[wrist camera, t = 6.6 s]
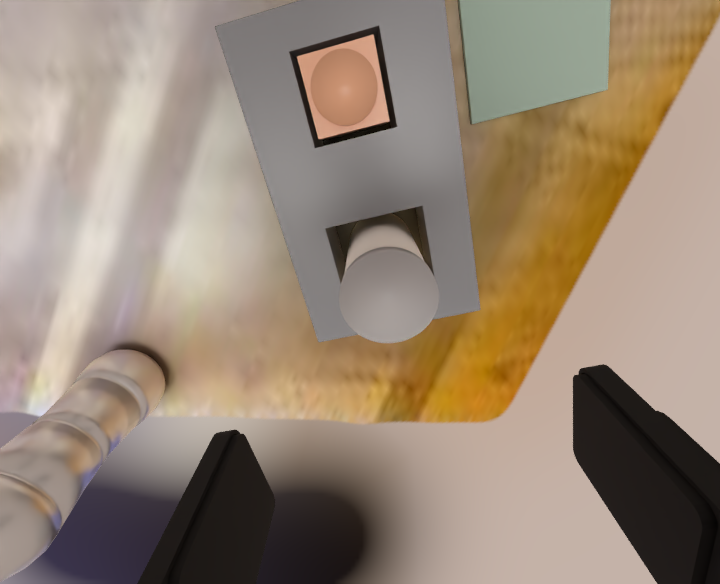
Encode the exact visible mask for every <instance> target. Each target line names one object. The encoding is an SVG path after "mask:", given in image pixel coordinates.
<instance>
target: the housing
mask: <svg viewBox="0 0 720 584" xmlns="http://www.w3.org/2000/svg"><path fill="white" fill-rule="evenodd" d="M215 29H216V32H217V35H218V38H219V41H220V44H221V47H222V50H223V53H224V56H225V59H226V62H227V65H228V68H229V71H230V74H231V77H232V80H233V83H234V87H235V90H236V93H237V96H238V99H239V102H240V105H241V108H242V111H243V114H244V117H245V120H246V123H247V126H248V129H249V132H250V135H251V138H252V141H253V144H254V147H255V150H256V153H257V156H258V159H259V163H260V166H261V169H262V172H263V175H264V178H265V181H266V184H267V187H268V190H269V193H270V196H271V199H272V202H273V205H274V208H275V211H276V214H277V217H278V220H279V223H280V226H281V229H282V232H283V236H284V239H285V242H286V245H287V248H288V251H289V254H290V257H291V260H292V263H293V266H294V269H295V272H296V275H297V278H298V281H299V284H300V287H301V290H302V293H303V296H304V299H305V302H306V305H307V308H308V312H309V315H310V318H311V321H312V324H313V327H314V330H315V333H316V336H317V339H318V342H323V341H328V340H333V339H338V338H343V337H348V336H353V335H358V334H357V333H356V332H355V331H354V330H352V328H351V327H350V326H349V325H348V324H347V322H346V321H345V319H344V317H343V315H342V313H341V309H340V305H339V293H340V287H341V282H342V279H343V276H344V273H345V267H346V264H345V261H344V257H343V253H342V249H341V246H340V242H339V238H338V234H337V231H336V227H335V226H338V225H342V224H346V223H350V222H355V221H359V220H363V219H367V218H372V217H376V216H380V215H385V214H389V213H393V212H397V211H402V210H406V209H410V208H414V207H415V209H416V215H417V220H418V226H419V232H420V238H421V243H422V249H423V255H424V261H425V263H426V264H427V265H428V266H429V268H430V270H431V272H432V274H433V276H434V278H435V280H436V282H437V286H438V290H439V303H438V308H437V311H436V314H435V315H434V317H433V319H438V318H443V317H448V316H453V315H458V314H463V313H468V312H473V311H478V310H480V302H479V294H478V285H477V276H476V268H475V259H474V250H473V242H472V233H471V225H470V216H469V207H468V199H467V190H466V181H465V173H464V164H463V155H462V147H461V138H460V129H459V121H458V112H457V103H456V95H455V86H454V77H453V69H452V60H451V51H450V43H449V34H448V25H447V17H446V8H445V0H300V1H297V2H293V3H290V4H287V5H283V6H280V7H277V8H274V9H270V10H267V11H264V12H261V13H257V14H254V15H251V16H248V17H244V18H241V19H238V20H235V21H231V22H228V23H225V24H222V25H218V26H215ZM373 34H374V40H375V45H376V48H377V53H378V59H379V64H380V70H381V75H382V80H383V86H384V91H385V97H386V102H387V107H388V113H389V118H390V124H391V129H387V130H384V131H380V132H376V133H372V134H368V135H364V136H360V137H357V138H353V139H349V140H345V141H341V142H337V143H334V144H330V145H326V146H324V145H323V141H322V140H319V139H318V135H317V132H316V128H315V124H314V120H313V116H312V112H311V109H310V105H309V101H308V97H307V93H306V89H305V86H304V82H303V78H302V74H301V70H300V66H299V63H298V59H297V56H301V55H304V54H307V53H311V52H314V51H318V50H321V49H325V48H328V47H332V46H335V45H339V44H342V43H345V42H349V41H352V40H356V39H359V38H363V37H366V36H370V35H373ZM433 319H432V320H433Z"/></svg>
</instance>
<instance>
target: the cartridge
mask: <svg viewBox="0 0 720 584" xmlns="http://www.w3.org/2000/svg"><path fill="white" fill-rule="evenodd" d="M438 303H439V290H438V286H437V282H436V280H435V278H434V276H433V274H432V272H431V270H430V268H429V266H428V265H427V264H426V263H425V262H424V259H423V257H422V255H421V253H420V251H419V249H418V247H417V245H416V243H415V241H414V239H413V237H412V234H411V232H410V230H409V228H408V227H407V225H406V224H405V222H404V221H403V220H402V219H400V218H399V217H397V216H396V215H394V214H391V213H389V214H385V215H380V216H376V217H372V218H367V219H363V220H359V221H358V223H357V224H356V225H355V226H354V228H353V230H352V232H351V236H350V241H349V248H348V254H347V260H346V267H345V273H344V276H343V279H342V282H341V287H340V293H339V305H340V309H341V313H342V315H343V317H344V319H345V321H346V322H347V324H348V325H349V326H350V327H351V328H352V330H354V331H355V332H356V333H357V334H359V335H360V336H362V337H364V338H366V339H368V340H371V341H374V342H379V343H396V342H401V341H405V340H407V339H410V338H412V337H414V336H416V335H417V334H419V333H420V332H422V331H423V330H424V329H425V328H426V327H427V326H428V325H429V324H430V322H431V321H432V319H433V317H434V315H435V314H436V311H437V308H438Z"/></svg>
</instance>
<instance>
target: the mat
mask: <svg viewBox="0 0 720 584" xmlns="http://www.w3.org/2000/svg"><path fill="white" fill-rule="evenodd" d="M610 2H611V0H458V6H459V16H460V25H461V35H462V45H463V54H464V64H465V74H466V83H467V93H468V103H469V112H470V122H471V124H475V123H479V122H483V121H487V120H491V119H495V118H498V117H502V116H506V115H510V114H514V113H518V112H522V111H526V110H530V109H534V108H538V107H542V106H546V105H549V104H553V103H557V102H561V101H565V100H569V99H573V98H577V97H581V96H585V95H589V94H593V93H597V92H600V91H604V90H608V63H609V32H610Z"/></svg>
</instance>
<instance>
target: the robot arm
mask: <svg viewBox="0 0 720 584" xmlns="http://www.w3.org/2000/svg"><path fill="white" fill-rule="evenodd" d="M573 450H574V454H575V457H576V459H577V461H578V463H579V465H580V466H581V468H582V469H583V471H584V472H585V474H586V475H587V477H588V479H589V480H590V482H591V483H592V484H593V486H594V488H595V489H596V491H597V492H598V494H599V495H600V497H601V498H602V500H603V501H604V503H605V504H606V506H607V507H608V509H609V511H610V512H611V513H612V515H613V517H614V518H615V520H616V521H617V523H618V524H619V526H620V527H621V529H622V530H623V532H624V533H625V535H626V536H627V538H628V540H629V541H630V542H631V544H632V546H633V547H634V549H635V550H636V551H637V553H638V555H639V556H640V558H641V559H642V561H643V562H644V564H645V565H646V567H647V568H648V570H649V572H650V573H651V575H652V576H653V578H654V579H655V581H656V582H657V584H720V464H719V463H718V462H717V461H716V460H715V459H714V458H713V457H712V456H711V455H710V454H709V453H707V452H706V451H705V450H704V449H703V448H702V447H701V446H700V445H699V444H697V442H695V441H694V440H693V439H692V438H691V437H690V436H689V435H688V434H687V433H686V432H685V431H684V430H682V429H681V428H680V427H679V426H678V425H677V424H676V423H675V422H674V421H673V420H671V419H670V418H669V417H668V416H667V415H665V414H664V413H661V412H659V411H655V410H654V409H653V408H652V407H651V406H650V405H649V404H648V403H647V402H646V401H645V400H643V399H642V398H641V397H640V396H639V395H638V394H637V393H636V392H635V391H634V390H633V389H632V388H631V387H630V386H629V385H627V384H626V383H625V382H624V381H623V380H622V379H621V378H620V377H619V376H618V375H617V374H616V373H615V372H613V370H612V369H610V368H609V367H608V366H607V365H598V366H593V367H586V368H582V369H580V371H579V375H575V376H574V377H573ZM274 507H275V499H274V495H273V492H272V490H271V489H270V486H269V484H268V482H267V480H266V478H265V476H264V474H263V472H262V470H261V467H260V465H259V464H258V461H257V459H256V457H255V455H254V453H253V451H252V449H251V447H250V445H249V443H248V441H247V439H246V437H245V435H244V434H240V433H239V432H238V431H237V430H231V431H225V432H219V433H216V434H215V435H214V437H213V438H212V440H211V442H210V444H209V446H208V448H207V449H206V452H205V453H204V455H203V457H202V459H201V461H200V463H199V465H198V467H197V469H196V471H195V473H194V475H193V477H192V479H191V481H190V482H189V485H188V487H187V488H186V490H185V492H184V494H183V496H182V498H181V500H180V502H179V504H178V506H177V508H176V510H175V512H174V514H173V516H172V518H171V519H170V521H169V523H168V526H167V527H166V529H165V531H164V534H163V535H162V537H161V539H160V541H159V543H158V545H157V547H156V549H155V551H154V553H153V555H152V557H151V559H150V560H149V562H148V564H147V566H146V568H145V570H144V572H143V574H142V576H141V578H140V580H139V582H138V584H256V580H257V576H258V572H259V568H260V564H261V560H262V556H263V552H264V548H265V544H266V540H267V536H268V532H269V528H270V524H271V520H272V516H273V512H274Z"/></svg>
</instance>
